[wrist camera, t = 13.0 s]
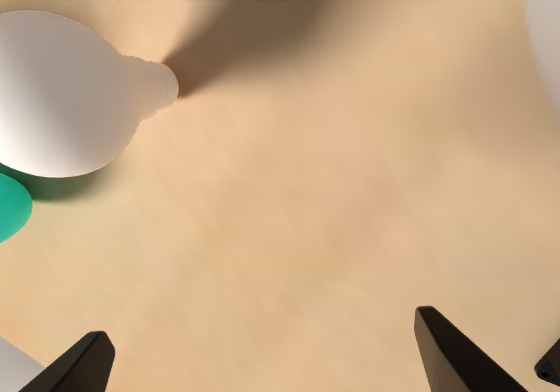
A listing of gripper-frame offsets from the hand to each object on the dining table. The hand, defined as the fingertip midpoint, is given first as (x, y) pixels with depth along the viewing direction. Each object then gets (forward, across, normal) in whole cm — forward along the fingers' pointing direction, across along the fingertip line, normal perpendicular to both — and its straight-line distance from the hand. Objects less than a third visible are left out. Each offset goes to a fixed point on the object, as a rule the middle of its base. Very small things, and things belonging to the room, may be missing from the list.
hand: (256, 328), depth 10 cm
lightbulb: (+14, +6, -5) cm, 16 cm away
